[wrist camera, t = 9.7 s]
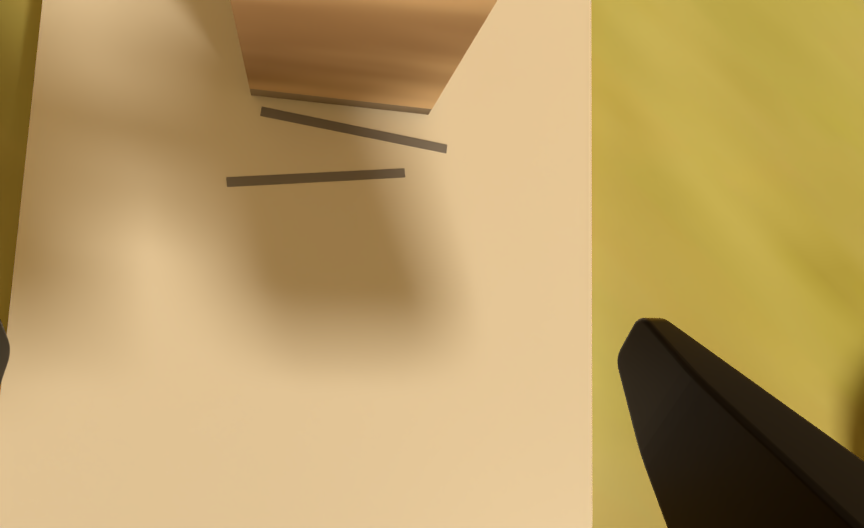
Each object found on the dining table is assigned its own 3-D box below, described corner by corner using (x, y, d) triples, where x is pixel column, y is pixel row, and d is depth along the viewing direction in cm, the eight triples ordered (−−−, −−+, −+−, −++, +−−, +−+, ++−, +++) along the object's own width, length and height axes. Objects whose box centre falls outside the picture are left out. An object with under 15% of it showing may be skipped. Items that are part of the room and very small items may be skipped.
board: (574, 522, 16) (592, 536, 15) (5, 553, 13) (-20, 572, 12) (575, -191, 18) (591, -220, 17) (94, -309, 15) (80, -353, 14)
